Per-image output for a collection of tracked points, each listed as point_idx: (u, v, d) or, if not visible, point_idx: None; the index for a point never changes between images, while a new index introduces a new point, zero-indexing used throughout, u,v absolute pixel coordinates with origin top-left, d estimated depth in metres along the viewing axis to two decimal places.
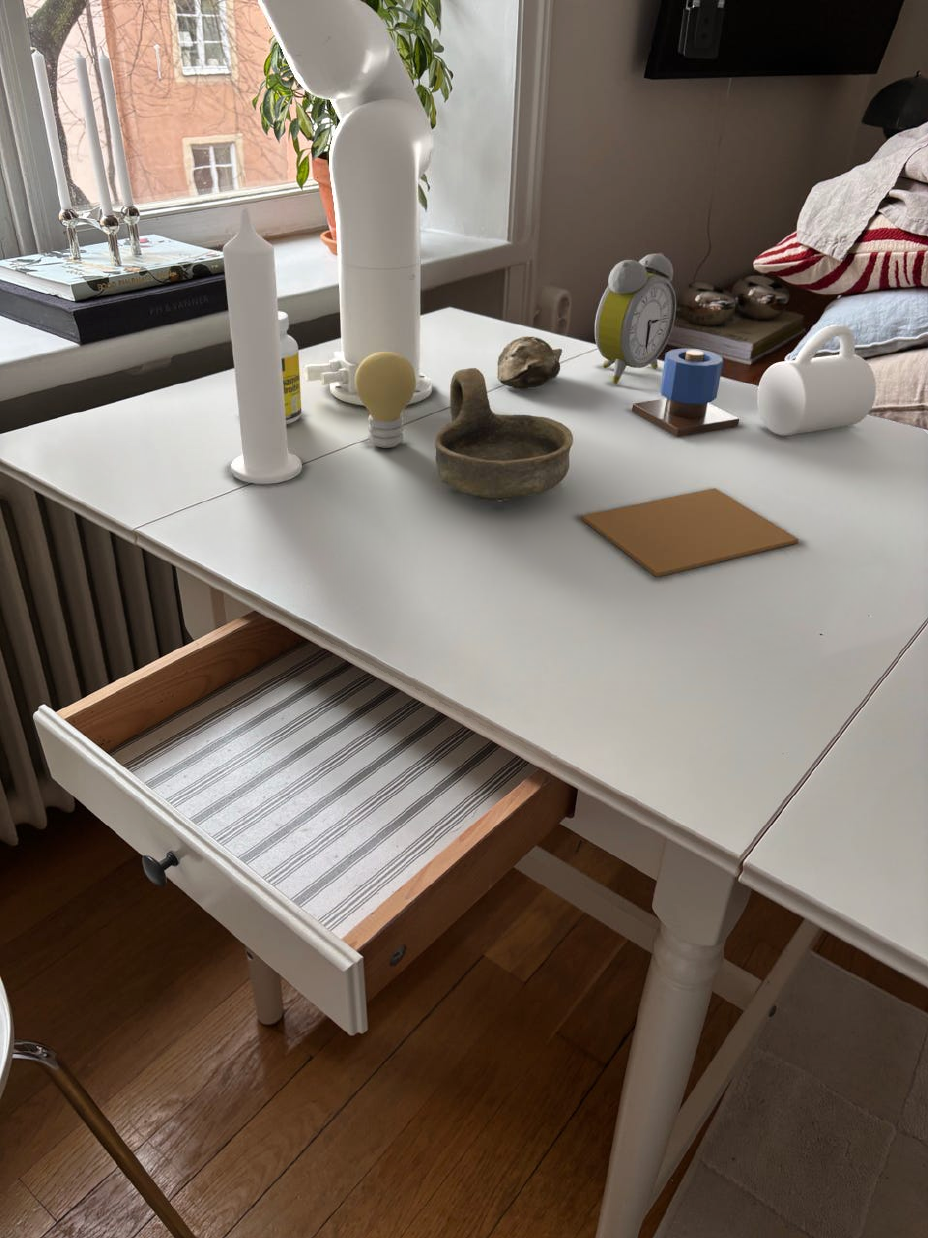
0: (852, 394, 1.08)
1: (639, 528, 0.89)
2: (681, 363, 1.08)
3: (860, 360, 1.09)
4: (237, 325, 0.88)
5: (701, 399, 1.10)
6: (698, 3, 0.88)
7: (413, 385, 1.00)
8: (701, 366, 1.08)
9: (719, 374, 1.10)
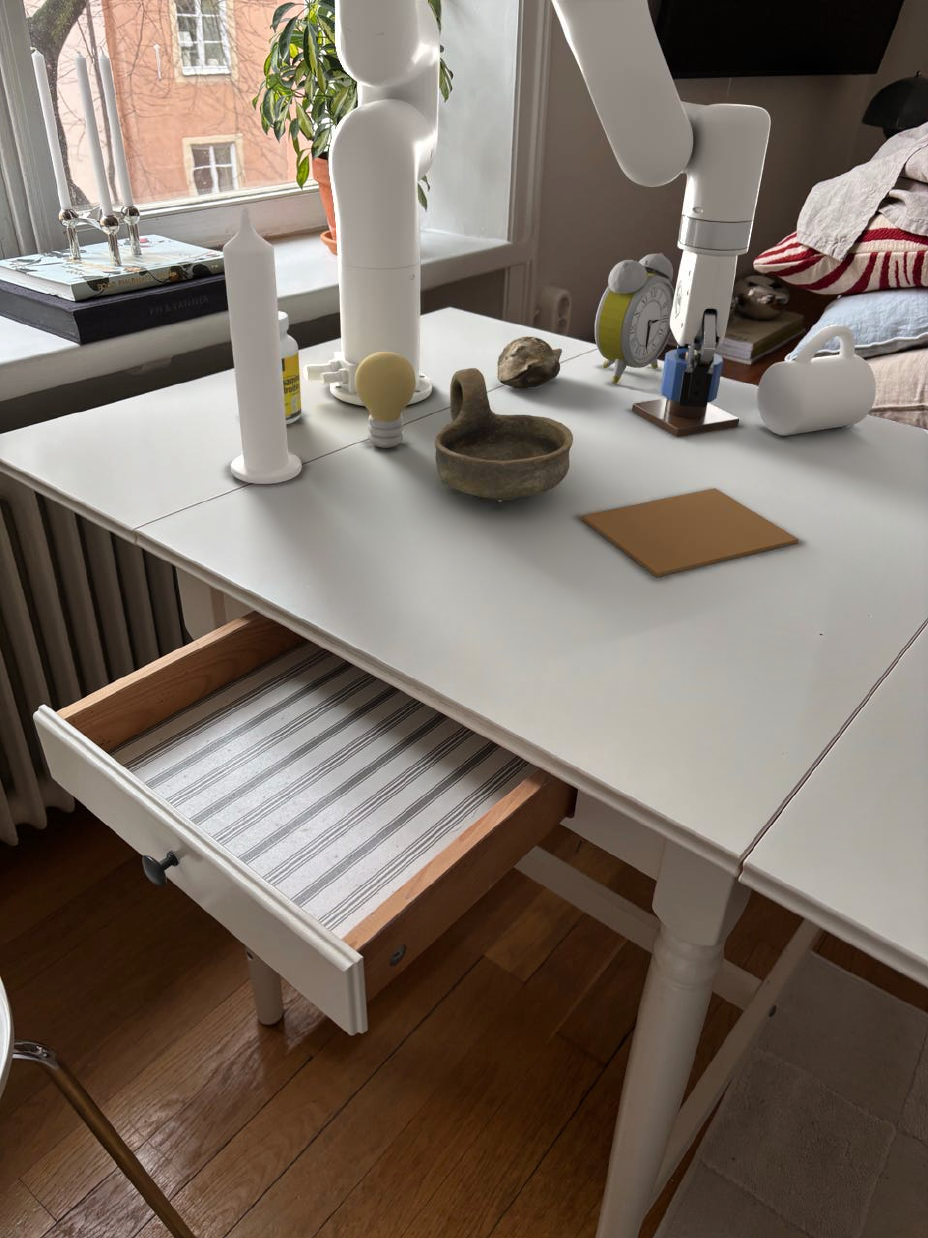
0: (852, 394, 1.08)
1: (639, 528, 0.89)
2: (681, 363, 1.08)
3: (860, 360, 1.09)
4: (237, 325, 0.88)
5: None
6: (691, 372, 1.07)
7: (413, 385, 1.00)
8: None
9: (719, 374, 1.10)
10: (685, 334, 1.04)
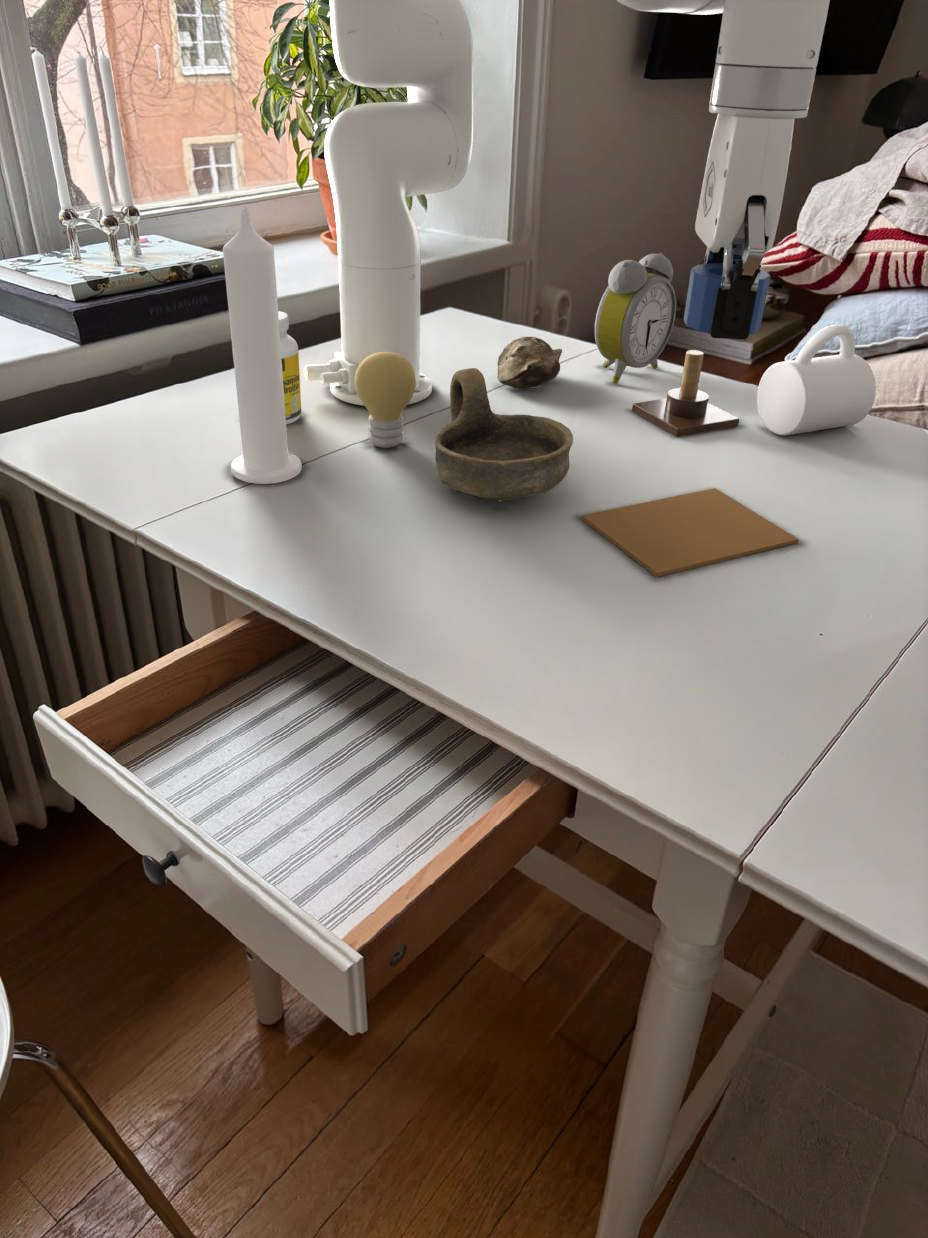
0: (852, 394, 1.08)
1: (639, 528, 0.89)
2: (714, 278, 0.79)
3: (860, 360, 1.09)
4: (237, 325, 0.88)
5: None
6: (728, 289, 0.78)
7: (413, 385, 1.00)
8: None
9: (765, 295, 0.81)
10: (721, 233, 0.75)
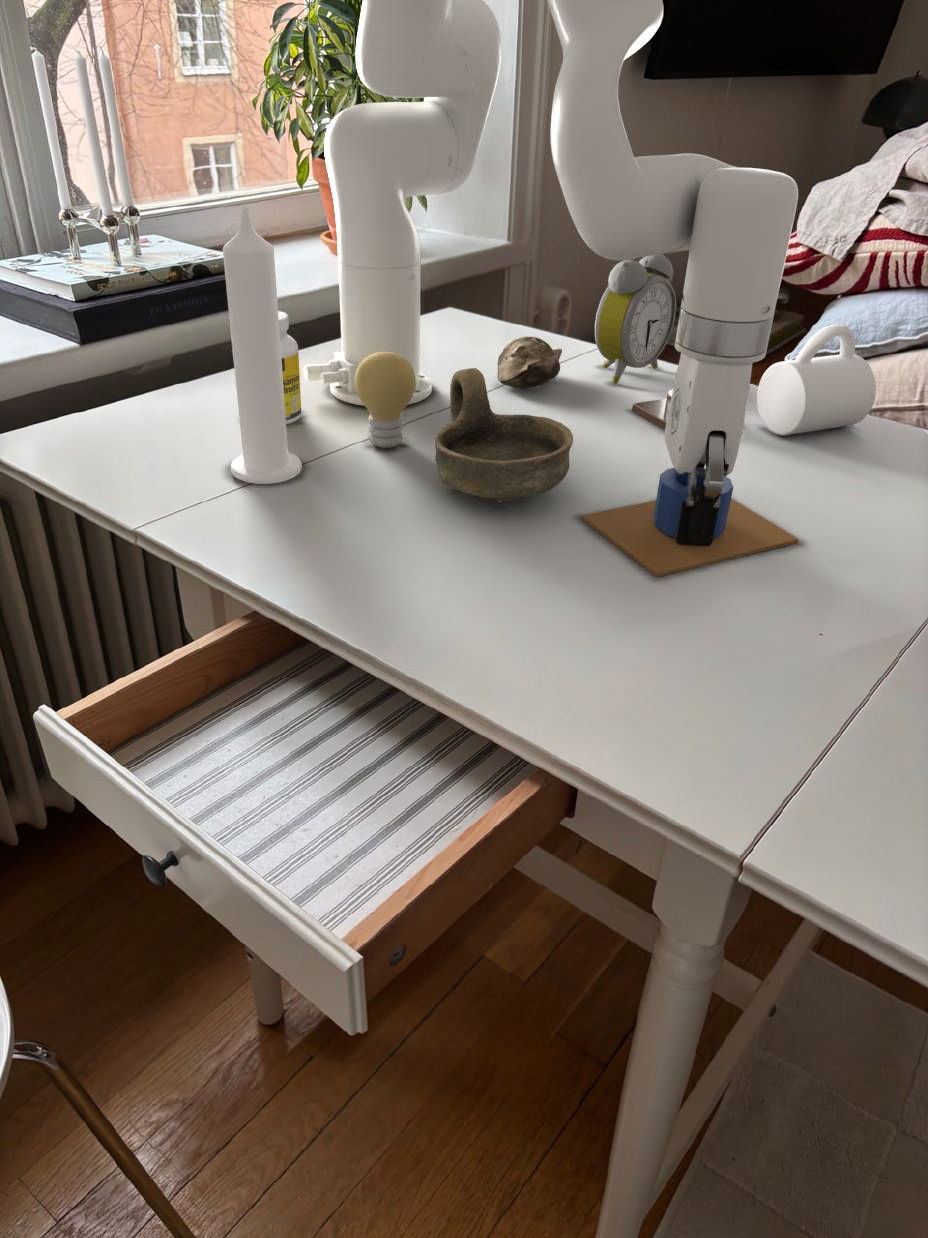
0: (852, 394, 1.08)
1: (639, 528, 0.89)
2: (680, 492, 0.85)
3: (860, 360, 1.09)
4: (237, 325, 0.88)
5: None
6: (691, 506, 0.83)
7: (413, 385, 1.00)
8: None
9: (728, 503, 0.86)
10: (684, 461, 0.81)
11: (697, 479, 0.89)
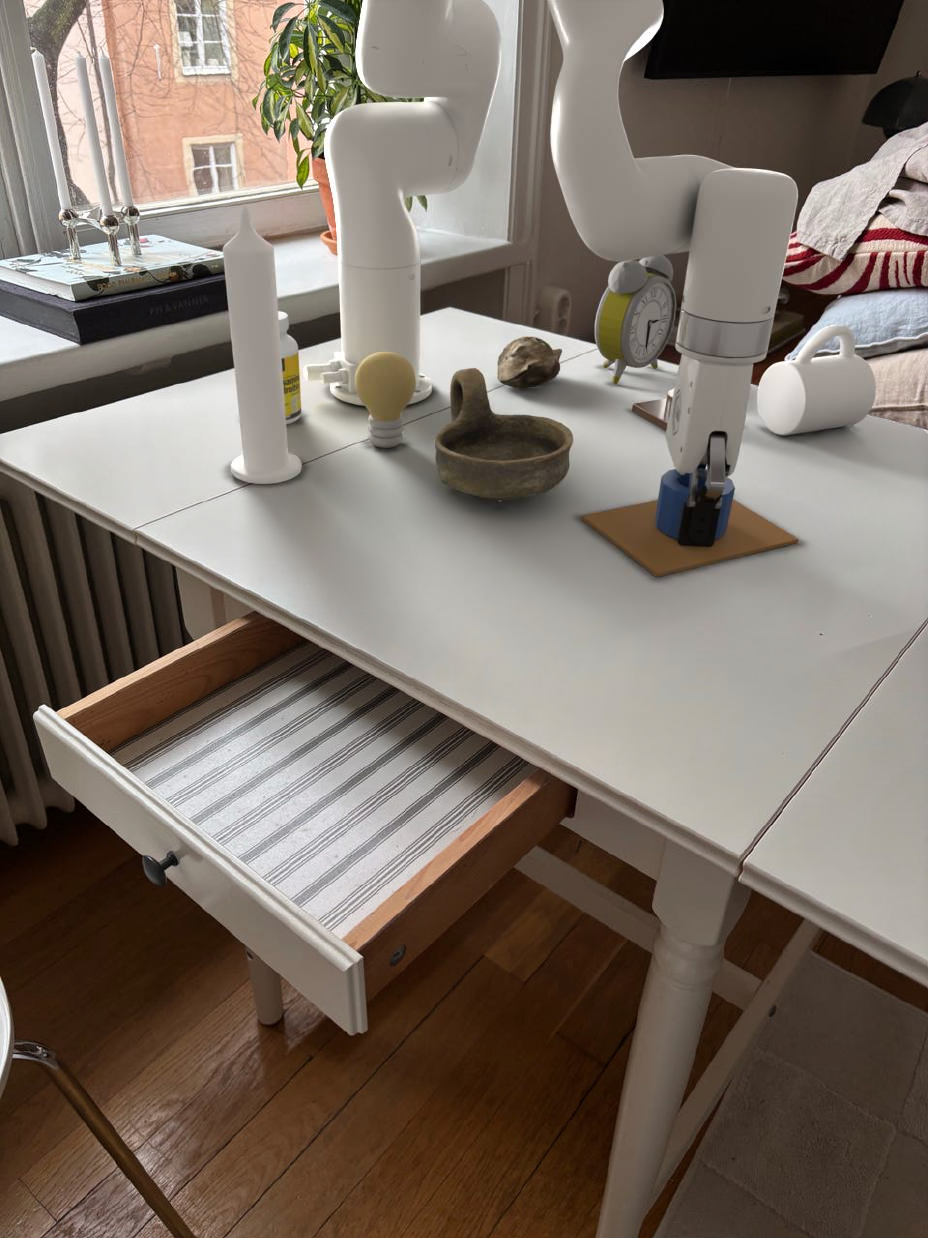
0: (852, 394, 1.08)
1: (639, 528, 0.89)
2: (681, 493, 0.85)
3: (860, 360, 1.09)
4: (237, 325, 0.88)
5: None
6: (693, 507, 0.83)
7: (413, 385, 1.00)
8: None
9: (730, 504, 0.86)
10: (685, 462, 0.80)
11: (698, 480, 0.88)
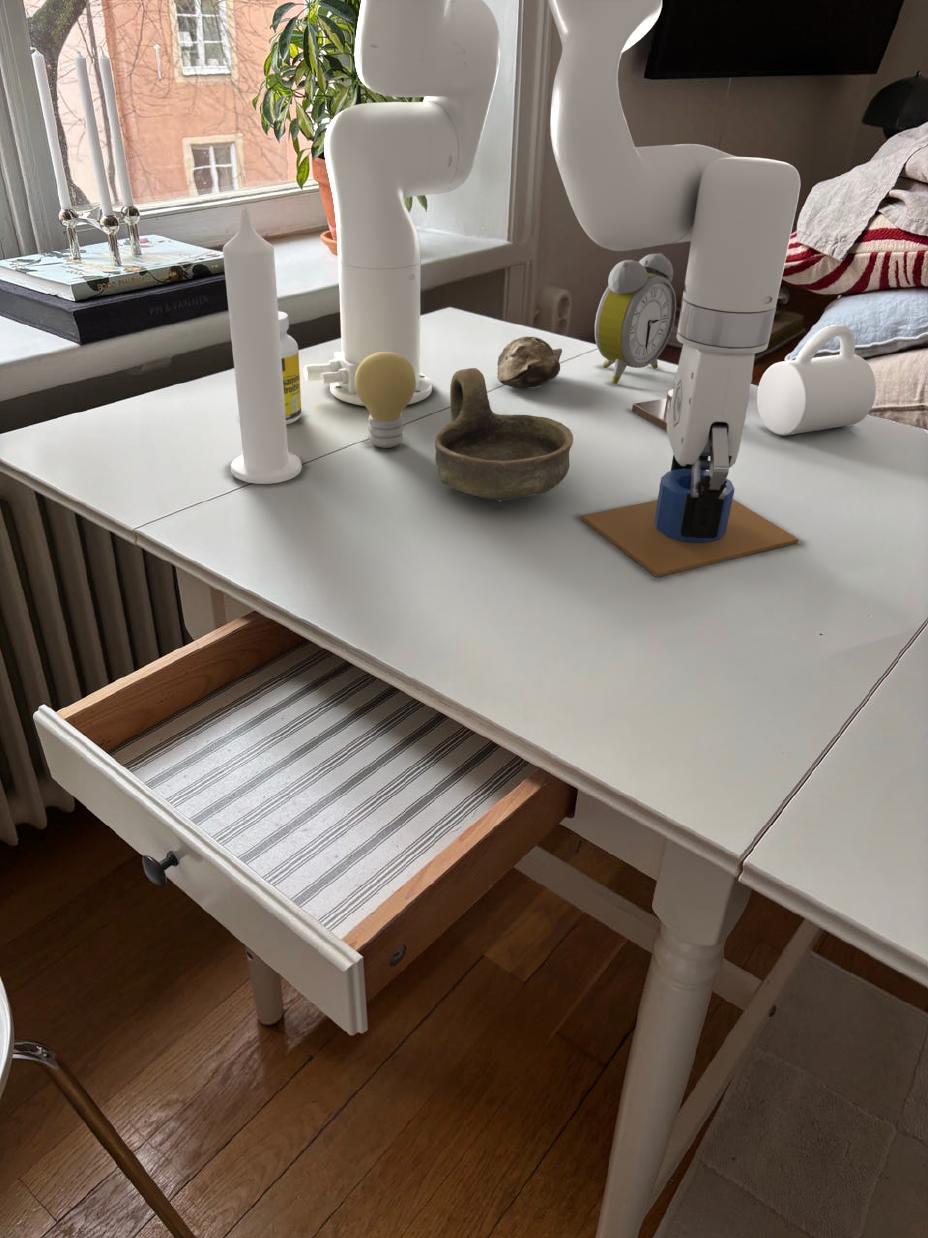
0: (852, 394, 1.08)
1: (639, 528, 0.89)
2: (681, 494, 0.85)
3: (860, 360, 1.09)
4: (237, 325, 0.88)
5: (706, 538, 0.86)
6: (697, 497, 0.81)
7: (413, 385, 1.00)
8: None
9: (729, 506, 0.86)
10: (686, 453, 0.80)
11: None
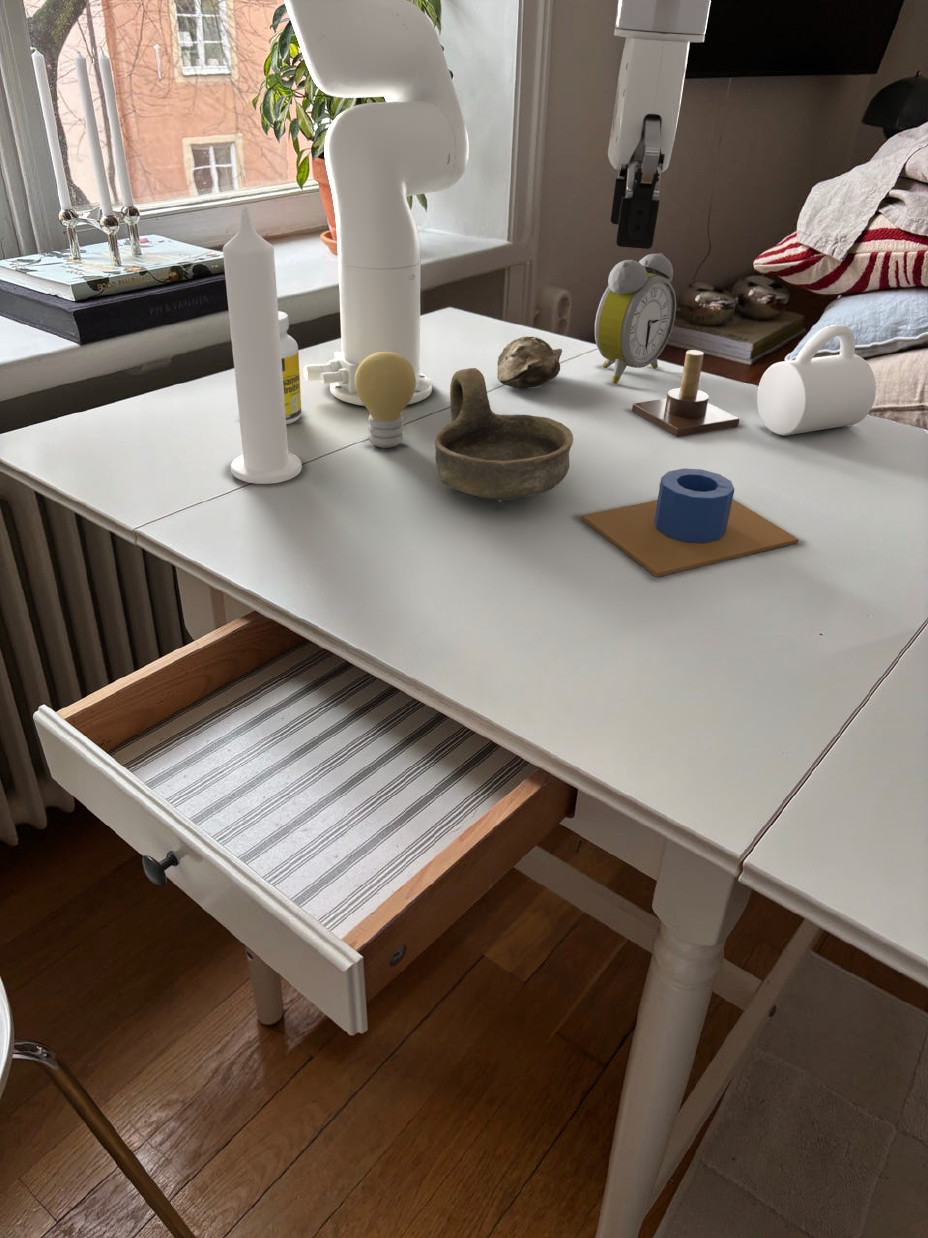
0: (852, 394, 1.08)
1: (639, 528, 0.89)
2: (681, 494, 0.85)
3: (860, 360, 1.09)
4: (237, 325, 0.88)
5: (706, 538, 0.86)
6: (631, 195, 0.82)
7: (413, 385, 1.00)
8: (706, 499, 0.84)
9: (729, 506, 0.86)
10: (620, 150, 0.81)
11: (698, 481, 0.89)
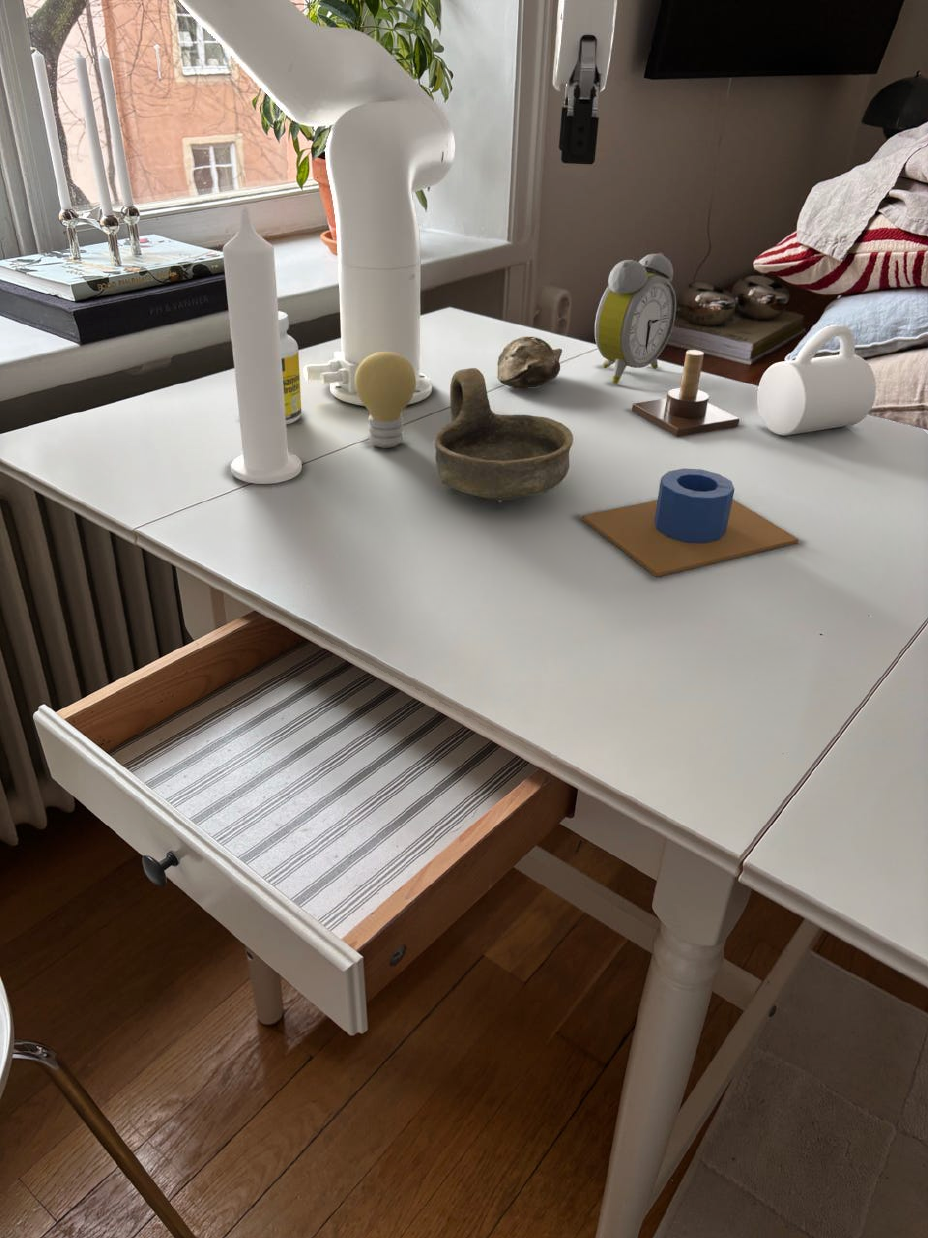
0: (852, 394, 1.08)
1: (639, 528, 0.89)
2: (681, 494, 0.85)
3: (860, 360, 1.09)
4: (237, 325, 0.88)
5: (706, 538, 0.86)
6: (572, 112, 0.88)
7: (413, 385, 1.00)
8: (706, 499, 0.84)
9: (729, 506, 0.86)
10: (560, 71, 0.88)
11: (698, 481, 0.89)
